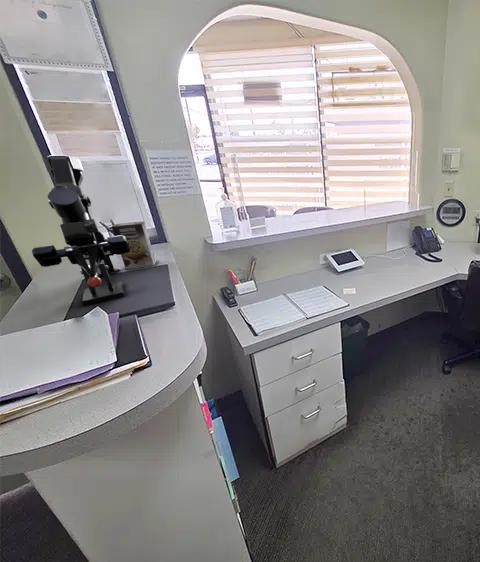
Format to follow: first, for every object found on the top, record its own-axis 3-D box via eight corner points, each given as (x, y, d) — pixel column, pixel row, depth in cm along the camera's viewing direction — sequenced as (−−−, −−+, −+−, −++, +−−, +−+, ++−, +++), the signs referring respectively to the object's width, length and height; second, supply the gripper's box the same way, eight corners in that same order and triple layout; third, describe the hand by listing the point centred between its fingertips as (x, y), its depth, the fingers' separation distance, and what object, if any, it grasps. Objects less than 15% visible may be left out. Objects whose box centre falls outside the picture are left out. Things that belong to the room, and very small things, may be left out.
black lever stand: (124, 296, 91) (112, 264, 87) (83, 305, 85) (69, 272, 82) (122, 285, 99) (111, 256, 96) (85, 293, 94) (73, 262, 90)
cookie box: (125, 269, 114) (109, 226, 108) (128, 265, 119) (114, 223, 113) (154, 265, 118) (141, 223, 112) (156, 261, 123) (144, 220, 117)
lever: (103, 287, 82) (99, 277, 81) (89, 289, 80) (85, 280, 79) (102, 271, 92) (99, 262, 91) (90, 273, 90) (86, 264, 89)
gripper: (16, 215, 74) (28, 269, 70) (114, 205, 85) (130, 252, 81) (36, 241, 82) (48, 291, 78) (123, 230, 93) (137, 273, 89)
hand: (92, 276), depth 81 cm, fingers closed, pressing on lever
